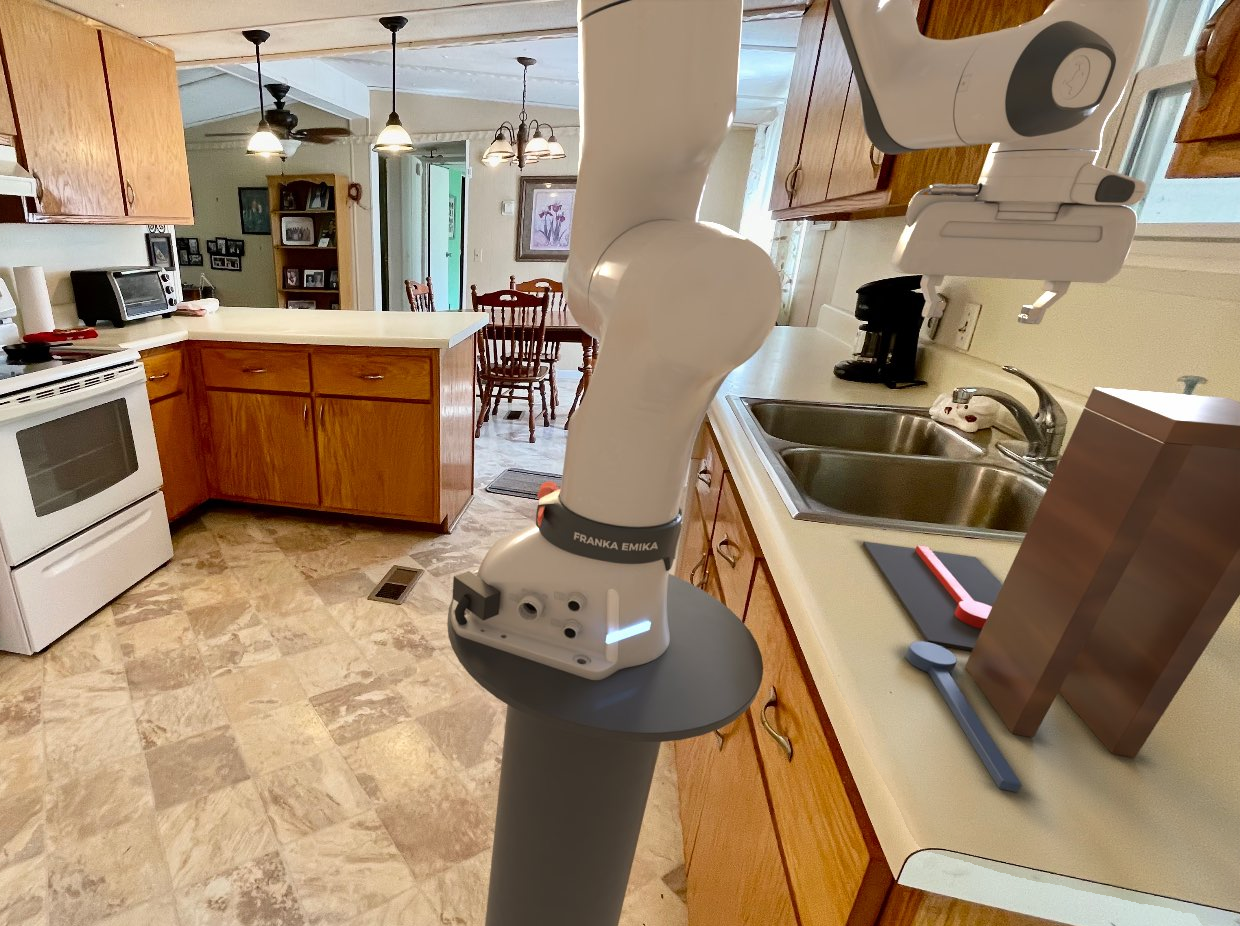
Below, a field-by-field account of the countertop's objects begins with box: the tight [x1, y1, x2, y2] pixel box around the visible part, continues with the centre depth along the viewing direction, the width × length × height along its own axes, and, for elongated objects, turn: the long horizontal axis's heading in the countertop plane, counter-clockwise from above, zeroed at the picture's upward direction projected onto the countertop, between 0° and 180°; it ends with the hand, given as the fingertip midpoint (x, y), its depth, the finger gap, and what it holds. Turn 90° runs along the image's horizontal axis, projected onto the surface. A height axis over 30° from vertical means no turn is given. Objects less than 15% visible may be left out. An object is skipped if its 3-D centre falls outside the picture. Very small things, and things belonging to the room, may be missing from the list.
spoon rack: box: [964, 387, 1240, 759], centre depth 50 cm, size 8×9×26 cm
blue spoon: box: [905, 640, 1023, 793], centre depth 55 cm, size 17×4×1 cm, turn 162°
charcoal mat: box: [862, 541, 1003, 652], centre depth 71 cm, size 12×22×1 cm, turn 163°
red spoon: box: [914, 544, 992, 629], centre depth 72 cm, size 17×4×1 cm, turn 163°
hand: (978, 320), depth 75 cm, fingers open, 8 cm apart
